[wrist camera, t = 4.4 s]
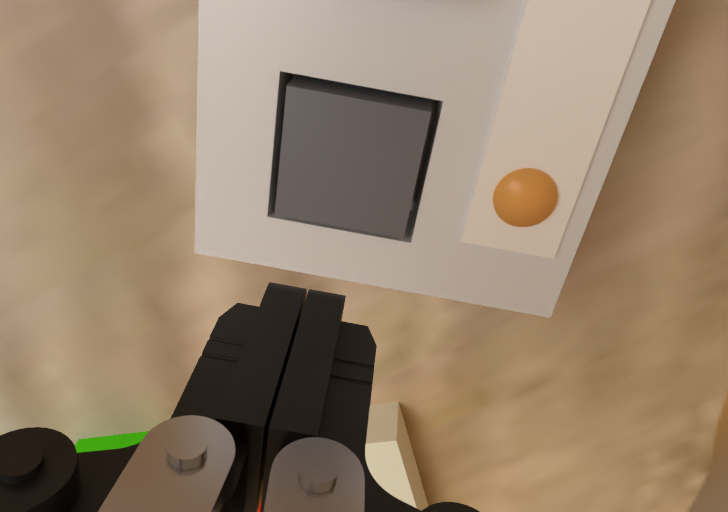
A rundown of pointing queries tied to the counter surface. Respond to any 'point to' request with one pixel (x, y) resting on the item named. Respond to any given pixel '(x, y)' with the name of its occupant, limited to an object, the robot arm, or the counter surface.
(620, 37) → the button panel
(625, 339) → the counter surface
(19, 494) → the robot arm
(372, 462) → the puzzle game
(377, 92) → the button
